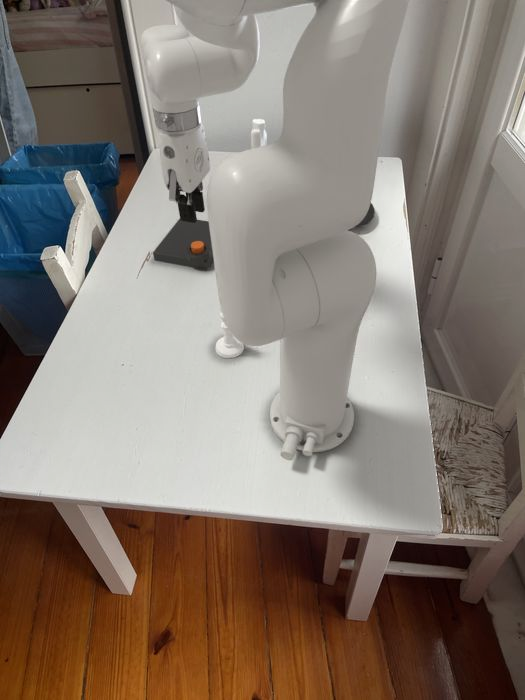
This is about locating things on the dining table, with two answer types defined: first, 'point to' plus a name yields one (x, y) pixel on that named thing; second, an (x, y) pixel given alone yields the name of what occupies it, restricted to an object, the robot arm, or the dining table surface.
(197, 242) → the button
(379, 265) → the dining table surface
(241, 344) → the chess piece
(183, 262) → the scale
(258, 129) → the figurine
